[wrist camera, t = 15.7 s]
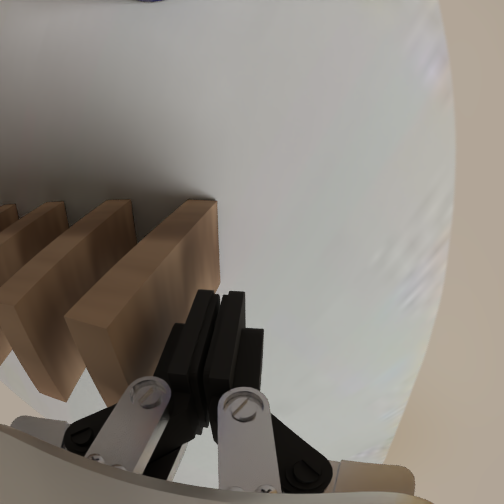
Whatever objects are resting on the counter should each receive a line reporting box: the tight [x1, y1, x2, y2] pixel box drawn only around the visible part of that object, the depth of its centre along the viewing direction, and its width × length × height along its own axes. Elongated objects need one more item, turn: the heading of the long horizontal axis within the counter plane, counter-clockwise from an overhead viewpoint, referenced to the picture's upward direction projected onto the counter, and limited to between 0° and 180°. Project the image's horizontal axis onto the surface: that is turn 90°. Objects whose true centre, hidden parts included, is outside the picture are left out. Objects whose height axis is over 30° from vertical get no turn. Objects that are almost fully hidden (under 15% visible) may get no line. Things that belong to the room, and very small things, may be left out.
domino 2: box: [0, 199, 137, 402], centre depth 13 cm, size 5×2×10 cm, turn 179°
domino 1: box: [0, 201, 69, 365], centre depth 13 cm, size 5×2×10 cm, turn 179°
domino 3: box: [64, 199, 220, 407], centre depth 13 cm, size 5×2×10 cm, turn 179°
